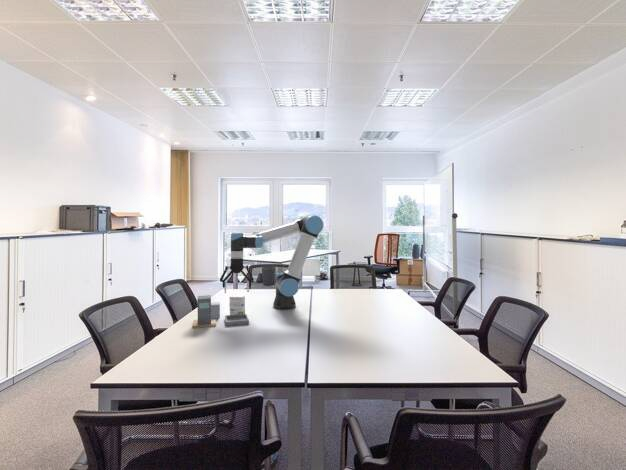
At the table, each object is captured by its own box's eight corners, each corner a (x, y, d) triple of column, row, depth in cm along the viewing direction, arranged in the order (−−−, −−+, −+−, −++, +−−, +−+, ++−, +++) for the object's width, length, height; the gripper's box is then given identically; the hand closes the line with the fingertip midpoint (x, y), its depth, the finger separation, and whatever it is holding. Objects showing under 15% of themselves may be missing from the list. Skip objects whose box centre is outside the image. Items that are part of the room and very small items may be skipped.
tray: (246, 317, 202) (246, 313, 202) (248, 324, 189) (248, 320, 189) (225, 319, 199) (225, 315, 199) (226, 326, 186) (225, 322, 186)
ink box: (245, 314, 211) (245, 295, 211) (243, 316, 206) (243, 297, 206) (231, 313, 212) (231, 295, 211) (229, 315, 207) (229, 296, 206)
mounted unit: (215, 320, 197) (215, 294, 197) (215, 326, 186) (215, 298, 185) (193, 321, 194) (193, 295, 193) (192, 328, 182) (192, 300, 182)
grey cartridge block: (219, 315, 209) (219, 302, 208) (219, 317, 203) (219, 304, 203) (211, 315, 207) (211, 302, 207) (211, 318, 202) (211, 305, 201)
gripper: (256, 256, 215) (256, 290, 215) (215, 257, 207) (215, 292, 208) (258, 258, 207) (257, 292, 208) (215, 258, 200) (215, 294, 201)
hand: (236, 292), depth 208 cm, fingers open, 13 cm apart
